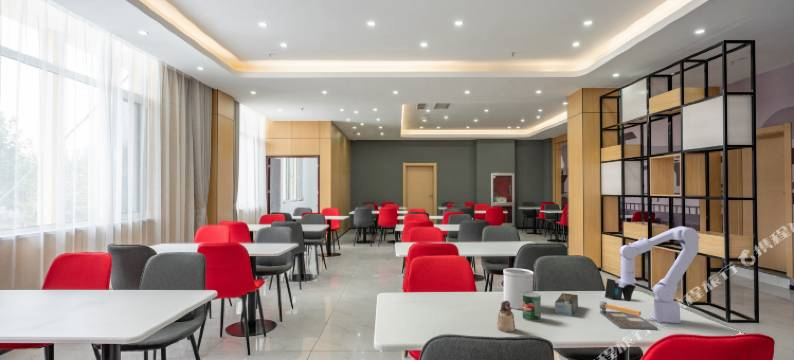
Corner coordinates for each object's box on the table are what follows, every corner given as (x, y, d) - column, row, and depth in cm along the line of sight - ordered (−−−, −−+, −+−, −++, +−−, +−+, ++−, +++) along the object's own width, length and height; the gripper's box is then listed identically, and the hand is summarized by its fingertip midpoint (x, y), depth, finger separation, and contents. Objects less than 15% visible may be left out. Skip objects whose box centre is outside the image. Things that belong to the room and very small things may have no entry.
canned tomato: (542, 317, 185) (542, 293, 186) (538, 322, 179) (538, 297, 179) (524, 314, 189) (524, 291, 190) (520, 319, 183) (520, 294, 183)
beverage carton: (554, 314, 192) (554, 300, 192) (561, 304, 208) (561, 291, 208) (572, 317, 188) (572, 302, 188) (578, 307, 204) (578, 294, 204)
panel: (632, 314, 192) (632, 309, 192) (657, 329, 171) (657, 324, 171) (599, 312, 194) (599, 307, 194) (619, 328, 173) (619, 322, 173)
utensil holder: (529, 302, 211) (529, 268, 211) (536, 310, 196) (536, 274, 196) (500, 301, 212) (501, 267, 213) (505, 309, 197) (505, 273, 198)
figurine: (511, 326, 173) (512, 298, 173) (517, 332, 166) (517, 303, 166) (495, 326, 173) (495, 298, 173) (500, 332, 166) (500, 302, 166)
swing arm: (598, 307, 193) (598, 302, 193) (601, 306, 195) (601, 300, 195) (638, 317, 179) (638, 310, 179) (641, 316, 181) (641, 309, 181)
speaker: (609, 299, 217) (611, 280, 218) (604, 297, 223) (606, 278, 224) (624, 301, 217) (625, 281, 217) (618, 298, 222) (620, 279, 223)
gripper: (624, 268, 196) (624, 296, 196) (611, 271, 187) (611, 301, 187) (640, 270, 191) (640, 299, 190) (628, 274, 182) (628, 304, 181)
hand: (627, 300), depth 188 cm, fingers closed
